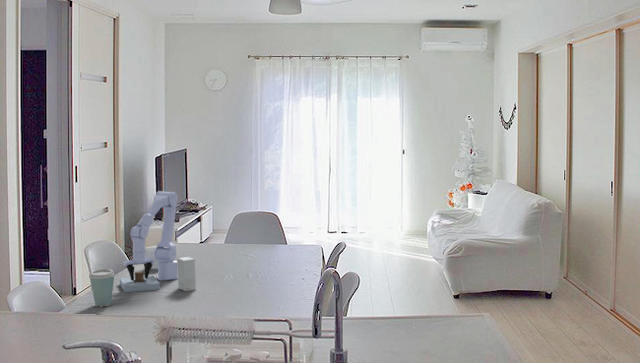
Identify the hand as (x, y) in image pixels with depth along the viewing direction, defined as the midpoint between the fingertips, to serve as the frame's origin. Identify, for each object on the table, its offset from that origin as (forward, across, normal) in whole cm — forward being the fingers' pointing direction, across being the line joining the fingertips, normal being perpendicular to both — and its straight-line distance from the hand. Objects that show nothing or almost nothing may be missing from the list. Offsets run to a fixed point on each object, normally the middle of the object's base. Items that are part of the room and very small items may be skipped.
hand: (139, 279), depth 324 cm
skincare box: (+4, -17, +16) cm, 24 cm away
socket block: (+4, 0, 0) cm, 4 cm away
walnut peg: (+4, 0, 0) cm, 4 cm away
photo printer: (+4, -21, -34) cm, 40 cm away
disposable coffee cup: (+4, +25, +23) cm, 34 cm away
